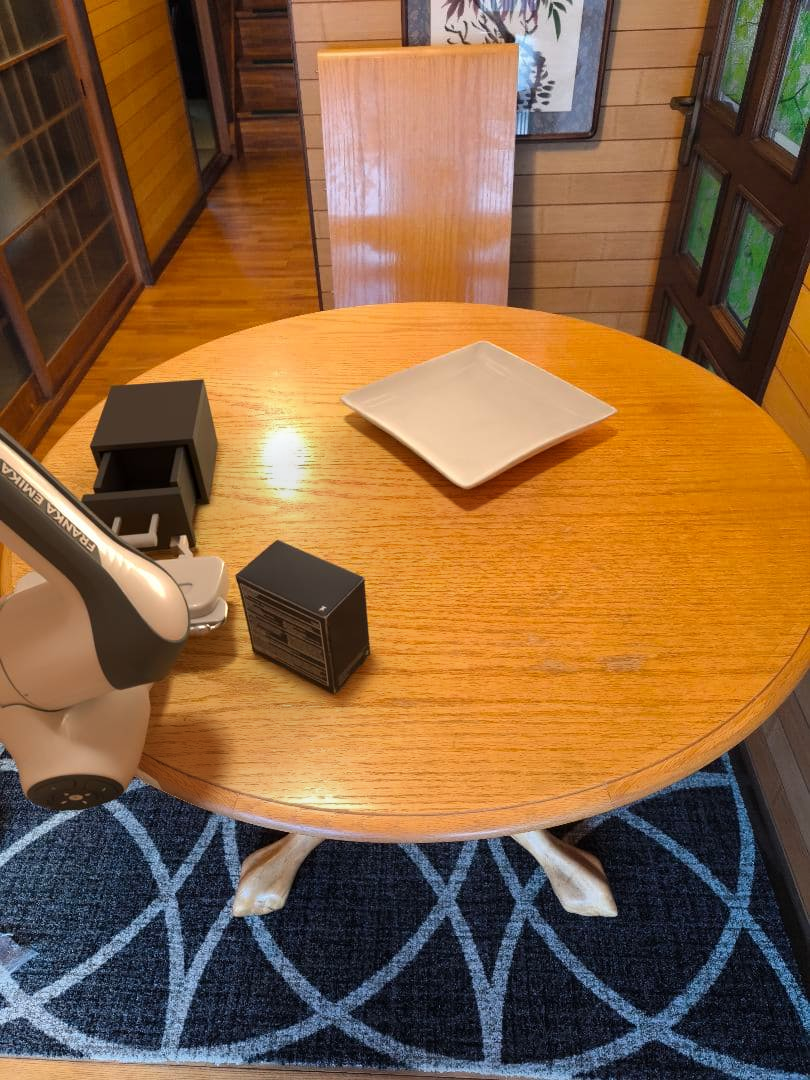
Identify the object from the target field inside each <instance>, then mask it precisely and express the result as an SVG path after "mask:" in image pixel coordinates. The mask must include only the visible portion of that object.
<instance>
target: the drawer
mask: <svg viewBox="0 0 810 1080" xmlns="http://www.w3.org/2000/svg"><path fill="white" fill-rule="evenodd" d="M92 490H93V493H88V494H82V496H81V499H80V501H81V502H82V503H83V504H84V505H85V506H87V507H88V508H89V509H90V510H91V511H92V512H93V513H94V514H95V515H96V516H97V517H98V518H99V519H100V520H102V521H103V522H104V523H105V524H106V525H107V526H108V527H109V528H110V529H111V530H112V531H113V532H115V533H116V534H117V535H118V536H119V537H120V538H122V539H123V540H124V541H125V542H127V543H128V544H130V545H131V546H133V547H134V548H136V549H137V550H139V551H140V552H142V553H149V552H159V551H171V548H170V542H171V541H172V540H171V537H173V536H182V535H186V537H187V540H188V545H189V549H194V548H196V546H197V537H196V534H195V531H194V527H193V521H194V514H195V510H196V509H195V508H196V505H195V503H196V496H197V490H198V483H197V480H196V476H195V472H194V468H193V464H192V460H191V456H190V452H189V448H188V444H186V445H173V446H161V447H148V448H135V449H122V450H109V451H105V452H104V455H103V458H102V461H101V464H100V468H99V471H97V474H96V477H95V480H94V483H93V485H92Z"/></svg>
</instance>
